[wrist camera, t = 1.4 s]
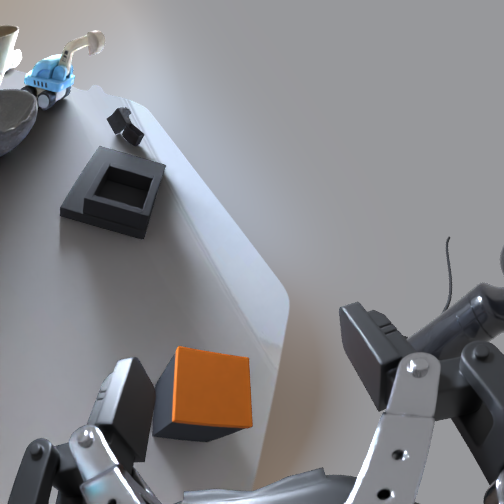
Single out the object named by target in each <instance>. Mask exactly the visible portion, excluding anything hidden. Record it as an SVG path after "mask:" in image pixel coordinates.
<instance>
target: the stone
mask: <svg viewBox="0 0 504 504" xmlns="http://www.w3.org/2000/svg"><path fill="white" fill-rule="evenodd" d="M21 59H22V55H21V51H20V50H14V51H12V53H11V56H10V59H9V62H8V65H7V68H6V70H5V71H7V70H8V69H10V68H15V67H16V66H17V65H18V64H19V62H20V60H21Z"/></svg>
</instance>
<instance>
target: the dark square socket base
mask: <svg viewBox="0 0 504 504" xmlns="http://www.w3.org/2000/svg"><path fill="white" fill-rule="evenodd" d="M165 167H166V165H164V164H161V163H158V162H154V161H151V160H148V159H144V158H141V157H137V156H134V155H130V154H127V153H123V152H120V151H116V150H113V149H109V148H105V147H102V146H99V147H98V149H97V150H96V152H95V153H94V155H93V156H92V158H91V159H90V160H89V162H88V163H87V165H86V167H85V168H84V170H83V171H82V173H81V174H80V176H79V177H78V179H77V181H76V182H75V184H74V185H73V187H72V189H71V190H70V192H69V194H68V195H67V197H66V199H65V200H64V202H63V204H62V206H61V207H60V216H63V217H67V218H70V219H74V220H77V221H80V222H84V223H87V224H91V225H94V226H98V227H101V228H105V229H108V230H112V231H115V232H119V233H122V234H126V235H129V236H133V237H137V238H140V239H144V237H145V234H146V230H147V227H148V223H149V219H150V216H151V212H152V209H153V205H154V202H155V199H156V195H157V192H158V189H159V185H160V182H161V179H162V176H163V173H164V170H165Z"/></svg>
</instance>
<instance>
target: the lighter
mask: <svg viewBox="0 0 504 504" xmlns="http://www.w3.org/2000/svg"><path fill="white" fill-rule="evenodd" d="M130 114H131V112H130V110H129V109H127V108H126V107H120V108H117V110H116V111H115V112H114V113H113V114H112V115H111V116H110V117H108V118H107V121H108V122H109V124H110V126H111V128H112V130H113V131H114V133H115V134H118V133H120V132H121V131H122V130H123V129H124V128H125V129H124V131H123V134H122V135H123V137H124V138H125V139H126V140H127V141H128V142H129V143H130V144H132V145H134V146H136V145H138V144H140V142H141V140H142V138H143V136H144V133H142V132H141V131H140V130H139V129H138V128H136V127H135V126H134V125H133V124H132V123H131V121H130V119H129V115H130Z"/></svg>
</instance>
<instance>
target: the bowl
mask: <svg viewBox="0 0 504 504" xmlns="http://www.w3.org/2000/svg"><path fill="white" fill-rule="evenodd" d="M37 104H38V102H37V98H36V97H35V96H34V95H33V94H31V93H29V92H27V91H24V90H18V89H3V90H0V157H1V156H2V155H4V154H6V153H8V152H9V151H10V150H12V149H14V148H15V147H16V146H17V145H18V144H19V143H20V142H21V141H22V140H23V139H24V138H25V137H26V136H27V134H28V133H29V131H30V130H31V128H32V126H33V125H34V123H35V120H36V116H37V112H38V105H37Z"/></svg>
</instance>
